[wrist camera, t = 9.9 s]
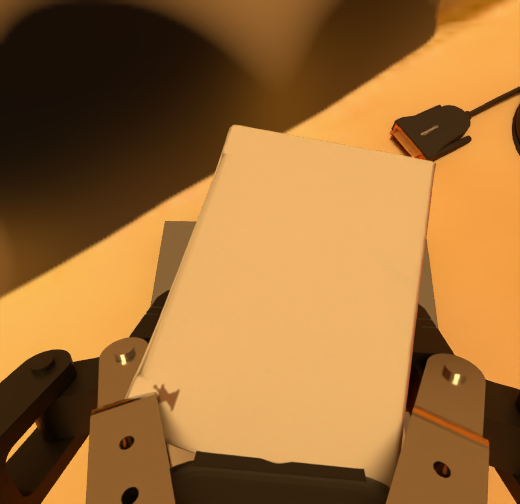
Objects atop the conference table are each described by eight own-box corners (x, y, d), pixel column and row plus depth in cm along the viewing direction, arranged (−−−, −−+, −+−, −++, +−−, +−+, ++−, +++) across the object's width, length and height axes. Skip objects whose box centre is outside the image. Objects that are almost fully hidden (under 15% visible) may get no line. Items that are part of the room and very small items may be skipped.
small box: (325, 429, 15) (397, 549, 5) (216, 393, 16) (102, 435, 6) (356, 273, 18) (445, 154, 8) (260, 249, 18) (229, 116, 9)
